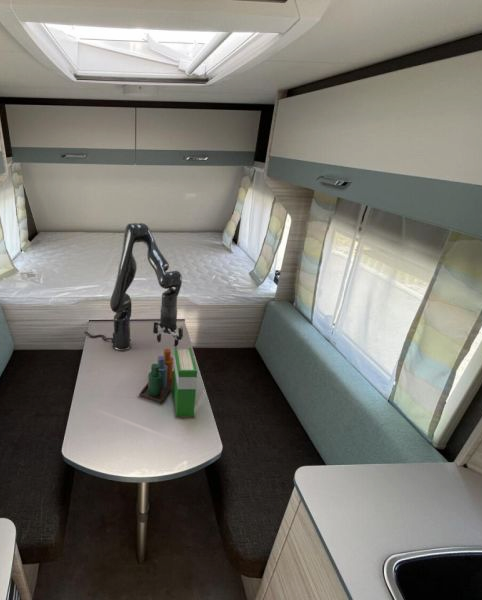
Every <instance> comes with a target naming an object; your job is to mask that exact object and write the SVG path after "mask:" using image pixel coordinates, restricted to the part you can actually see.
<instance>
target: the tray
mask: <svg viewBox="0 0 482 600" xmlns="http://www.w3.org/2000/svg"><path fill="white" fill-rule="evenodd" d="M173 372H174V370H173ZM171 390H173V374H172V380H170V381H167V387H166V388H165V389H162V390H161V396H160V397H159V398H154V397H151V396H149V395H148V382H147V383H146V385H144V387H143V388H142V389H141V391H140V393H139V394H138V395H139V396H138V397H140V398H143V399H146V400H149V401H152V402H154V403H157V404H160V405H162V404H163V402H164V401H165V400H166V398H167V396H168V395H169V393H171Z"/></svg>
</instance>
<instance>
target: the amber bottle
mask: <svg viewBox="0 0 482 600" xmlns="http://www.w3.org/2000/svg"><path fill="white" fill-rule="evenodd" d="M163 356H164V357H165V364H166V365H167V381H170V380H172V374H173V371H174V357H172V350H171V349H170V348H164V349H163Z"/></svg>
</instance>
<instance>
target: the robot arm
mask: <svg viewBox="0 0 482 600" xmlns="http://www.w3.org/2000/svg"><path fill="white" fill-rule="evenodd" d="M137 243H143V244H144V245H145V247H146V248H147V253H146V256H147V261H148V263H149V265H150V266H151V268H152V269H153V270H154V273H155V276H156V280H157V282H158V285H159V287H161V288H162V289H165V291H163V292H162V294H161V304H160V305H161V307H160V317H159V319H160V320H155V322H153V329H152V333H153V334H155V335H156V341H157V343H160V342H162V332H163V333H164V334H168V335H171V336H172V337H173V339H174V342H173V343H174V344H173V347H174V348H177V347H178V345H179V344H180V343H179V341H181V340H183V338H184V327H183V326H182V325H181V326H178V325H177V322H178V321H177V320H178V296H179V293H180V290H181V287H182V285H183V276H182V273H181V272H180V271H178V270H172V271H168V270H169V268H170V264H169V261H168V260H167V259H166V258H165V256H164V255H163V253H162V252H161V250H160V248H159V247H158V244H157V243H156V240H155V238H154V235H153V234H152V231H151V230H150V228H149V226H148V225H147V224H146V223H144V222H132V223H128V224H127V225H126V226H125V229H124V232H123V241H122V250H121V254H120V255H121V256H120V261H119V265H118V269H117V274H116V280H115V283H114V288H113V291H112V294H111V297H110V300H109V306H110V309H111V311H112V312H113V313H115V314H114V315H113V332H112V337H105V335H104V334H96V335H92V334H90V333H89V332H88V331H85V332H84V334H87V336H89V337H90V338H98V337H102V338H103V340H104V341H109V340H110V341H111V342H110V343H112V347H113V348H114V349H115V350H116V351H120V352H125V351H128V350H130V348H131V342H132V339H131V317H132V298H131V296H130V295H129V293H127V291H128V290H129V288H130V287H131V285H132V283H133V282H134V279H135V277H136V274H137V270H138V263H137V260H136V258H135V256H134V245H135V244H137ZM159 327H160V330H159Z"/></svg>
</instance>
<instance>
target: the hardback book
mask: <svg viewBox="0 0 482 600" xmlns="http://www.w3.org/2000/svg"><path fill="white" fill-rule="evenodd" d="M173 371H174V372H173V387H172V394H173V395H172V396H173V402H174V408H175V416H176V417H190V418H194V416H195V404H196V395H197V394H196V391H197V382H198V381H197V379H198V367H197V364H196V361H195V357H194V353H193V350H192V347H188V349H178V348H177V347H174V355H173Z"/></svg>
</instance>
